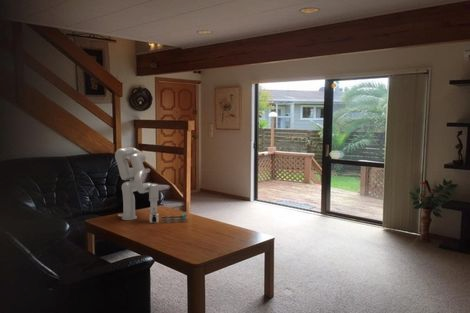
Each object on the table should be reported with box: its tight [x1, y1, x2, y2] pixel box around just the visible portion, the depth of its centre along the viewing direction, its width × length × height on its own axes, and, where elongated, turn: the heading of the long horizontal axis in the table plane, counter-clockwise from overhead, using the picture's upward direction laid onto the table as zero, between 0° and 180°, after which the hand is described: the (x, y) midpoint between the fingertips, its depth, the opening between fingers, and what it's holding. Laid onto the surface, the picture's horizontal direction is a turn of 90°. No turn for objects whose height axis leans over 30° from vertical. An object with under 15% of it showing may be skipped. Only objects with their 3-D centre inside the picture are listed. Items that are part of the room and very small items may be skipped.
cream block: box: [149, 213, 160, 223], centre depth 318 cm, size 7×4×6 cm, turn 100°
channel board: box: [161, 212, 188, 224], centre depth 320 cm, size 20×12×6 cm, turn 100°
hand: (154, 220), depth 318 cm, fingers closed on cream block, 4 cm apart
